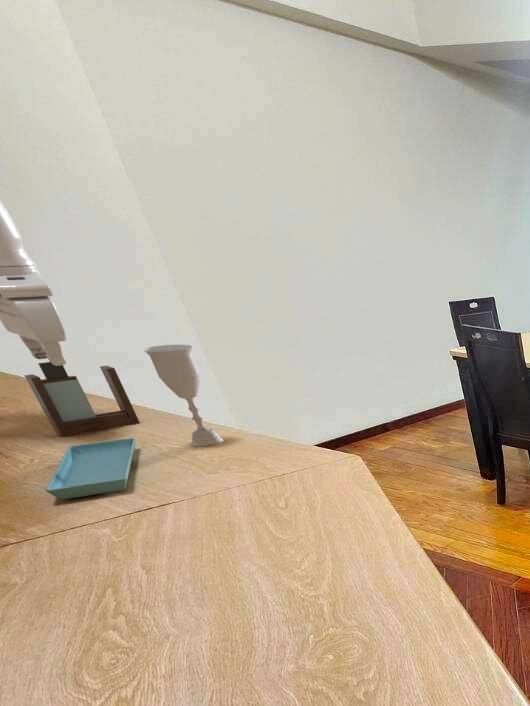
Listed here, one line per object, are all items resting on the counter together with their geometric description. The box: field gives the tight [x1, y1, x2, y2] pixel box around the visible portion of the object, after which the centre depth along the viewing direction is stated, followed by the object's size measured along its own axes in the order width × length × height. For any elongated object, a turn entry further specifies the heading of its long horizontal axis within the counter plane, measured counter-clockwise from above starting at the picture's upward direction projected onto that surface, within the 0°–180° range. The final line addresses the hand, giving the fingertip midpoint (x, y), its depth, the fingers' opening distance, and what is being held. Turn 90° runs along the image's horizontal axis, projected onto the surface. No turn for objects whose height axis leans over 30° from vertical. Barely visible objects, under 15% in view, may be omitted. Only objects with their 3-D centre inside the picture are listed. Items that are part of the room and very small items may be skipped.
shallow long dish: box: [44, 437, 137, 500], centre depth 101 cm, size 26×9×2 cm, turn 39°
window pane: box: [38, 361, 96, 422], centre depth 116 cm, size 5×1×12 cm, turn 149°
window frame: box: [24, 365, 141, 437], centre depth 119 cm, size 12×4×12 cm, turn 149°
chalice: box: [143, 344, 224, 447], centre depth 113 cm, size 7×7×18 cm
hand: (50, 361), depth 113 cm, fingers open, 8 cm apart
